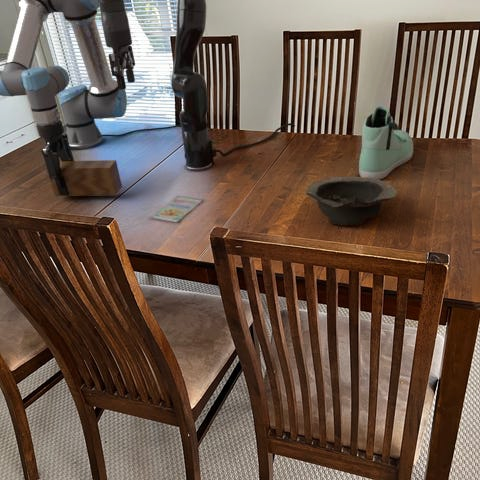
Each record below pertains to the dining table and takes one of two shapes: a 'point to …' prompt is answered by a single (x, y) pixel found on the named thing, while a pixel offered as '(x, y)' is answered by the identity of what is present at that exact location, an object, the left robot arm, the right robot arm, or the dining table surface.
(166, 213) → the baking ingredient package
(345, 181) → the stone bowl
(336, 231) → the dining table surface
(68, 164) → the box
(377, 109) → the sneaker
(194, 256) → the dining table surface
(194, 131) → the right robot arm
